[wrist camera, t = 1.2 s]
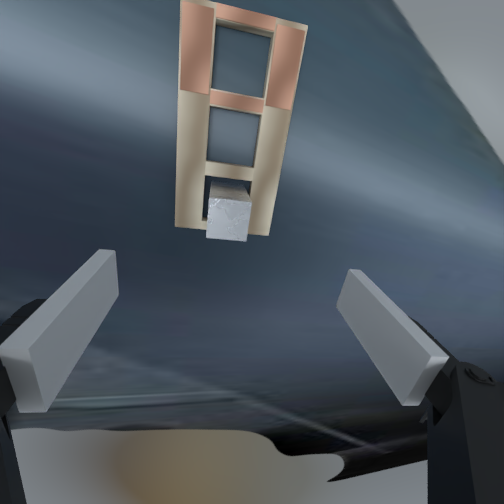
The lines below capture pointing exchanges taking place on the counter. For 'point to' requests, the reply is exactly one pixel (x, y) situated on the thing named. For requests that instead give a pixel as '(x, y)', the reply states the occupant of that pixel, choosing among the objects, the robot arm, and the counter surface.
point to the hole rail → (232, 108)
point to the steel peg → (228, 211)
